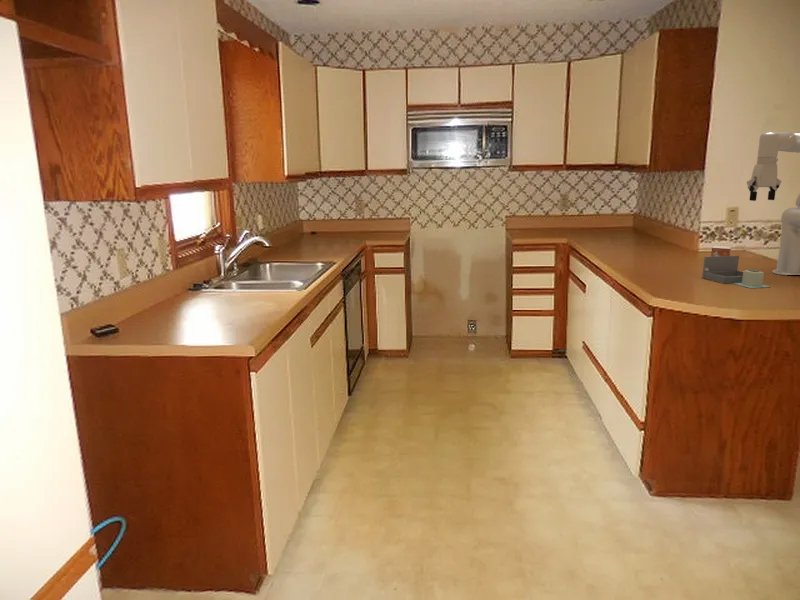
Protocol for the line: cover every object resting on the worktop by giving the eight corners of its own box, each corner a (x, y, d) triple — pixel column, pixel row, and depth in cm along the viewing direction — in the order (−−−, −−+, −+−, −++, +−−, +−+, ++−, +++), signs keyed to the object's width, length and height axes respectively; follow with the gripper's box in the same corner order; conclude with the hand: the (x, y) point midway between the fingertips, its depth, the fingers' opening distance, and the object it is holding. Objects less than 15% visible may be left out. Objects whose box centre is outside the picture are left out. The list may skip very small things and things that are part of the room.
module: (751, 283, 265) (753, 268, 264) (762, 285, 259) (764, 271, 258) (741, 283, 264) (743, 269, 263) (752, 286, 258) (754, 271, 257)
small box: (708, 274, 288) (711, 247, 285) (709, 272, 294) (712, 245, 291) (727, 275, 284) (730, 248, 282) (727, 273, 290) (731, 246, 287)
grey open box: (734, 276, 283) (736, 255, 281) (758, 282, 269) (761, 260, 267) (700, 277, 280) (703, 256, 277) (723, 283, 266) (726, 261, 263)
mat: (752, 282, 267) (752, 282, 267) (770, 287, 258) (770, 286, 258) (733, 283, 265) (733, 283, 265) (750, 288, 256) (750, 287, 256)
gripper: (776, 160, 270) (771, 199, 274) (743, 161, 266) (739, 200, 270) (790, 161, 263) (784, 200, 267) (756, 161, 259) (752, 201, 263)
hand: (761, 200), depth 269 cm, fingers open, 9 cm apart
